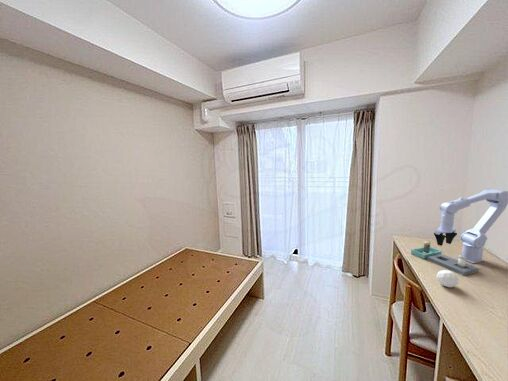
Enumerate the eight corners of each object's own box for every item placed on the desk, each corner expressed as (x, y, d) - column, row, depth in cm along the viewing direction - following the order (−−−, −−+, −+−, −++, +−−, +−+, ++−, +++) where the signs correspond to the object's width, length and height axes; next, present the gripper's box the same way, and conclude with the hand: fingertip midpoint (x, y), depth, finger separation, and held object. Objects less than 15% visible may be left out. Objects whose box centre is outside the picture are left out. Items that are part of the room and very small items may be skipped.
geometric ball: (445, 292, 103) (439, 282, 100) (436, 278, 109) (431, 268, 107) (464, 289, 99) (459, 278, 97) (454, 274, 106) (449, 264, 104)
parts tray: (427, 250, 141) (428, 246, 141) (441, 255, 134) (441, 251, 133) (411, 253, 137) (411, 249, 136) (424, 259, 129) (424, 254, 129)
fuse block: (440, 256, 132) (441, 253, 132) (478, 271, 115) (478, 268, 115) (426, 259, 129) (427, 256, 128) (463, 275, 112) (463, 272, 111)
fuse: (459, 267, 120) (461, 254, 118) (465, 270, 117) (467, 256, 115) (455, 268, 119) (457, 255, 117) (462, 271, 116) (464, 257, 115)
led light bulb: (425, 252, 137) (426, 240, 136) (430, 254, 134) (431, 242, 133) (421, 253, 136) (423, 241, 135) (426, 255, 133) (428, 243, 132)
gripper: (447, 219, 132) (444, 240, 134) (430, 222, 128) (428, 243, 130) (461, 222, 125) (458, 244, 127) (444, 225, 121) (441, 248, 123)
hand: (444, 244), depth 128 cm, fingers open, 7 cm apart
